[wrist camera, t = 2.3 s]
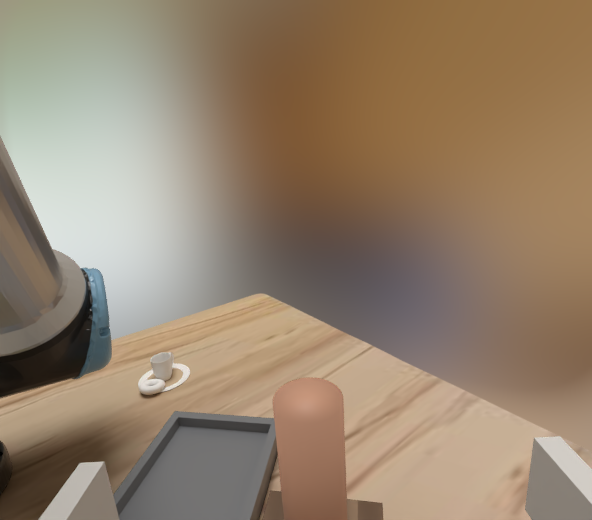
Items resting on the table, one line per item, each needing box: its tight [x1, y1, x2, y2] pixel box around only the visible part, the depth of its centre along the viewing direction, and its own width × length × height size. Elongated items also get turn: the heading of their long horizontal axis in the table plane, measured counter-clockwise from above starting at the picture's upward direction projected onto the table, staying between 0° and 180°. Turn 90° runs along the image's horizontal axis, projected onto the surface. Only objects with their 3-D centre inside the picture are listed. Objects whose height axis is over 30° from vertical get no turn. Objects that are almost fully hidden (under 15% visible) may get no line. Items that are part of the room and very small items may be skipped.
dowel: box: [273, 378, 347, 520], centre depth 24 cm, size 4×4×18 cm
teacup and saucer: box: [138, 352, 190, 395], centre depth 56 cm, size 9×8×4 cm
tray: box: [113, 411, 278, 520], centre depth 37 cm, size 14×16×2 cm
